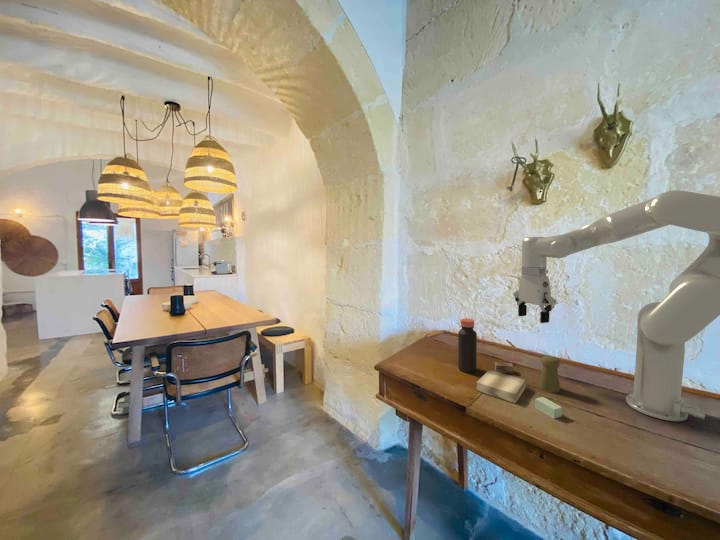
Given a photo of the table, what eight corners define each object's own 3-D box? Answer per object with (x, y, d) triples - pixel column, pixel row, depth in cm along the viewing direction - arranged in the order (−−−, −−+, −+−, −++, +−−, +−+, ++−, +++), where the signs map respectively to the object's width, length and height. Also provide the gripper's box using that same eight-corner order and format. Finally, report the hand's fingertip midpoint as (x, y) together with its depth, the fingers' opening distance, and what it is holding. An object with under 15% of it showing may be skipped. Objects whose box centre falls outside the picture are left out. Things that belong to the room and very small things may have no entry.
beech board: (525, 388, 98) (525, 379, 97) (515, 403, 89) (515, 394, 89) (489, 377, 106) (489, 369, 106) (476, 390, 97) (476, 382, 97)
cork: (559, 394, 93) (561, 362, 92) (538, 389, 97) (538, 358, 95) (560, 386, 98) (561, 356, 97) (539, 382, 101) (540, 352, 100)
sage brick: (561, 417, 82) (561, 407, 82) (553, 419, 81) (554, 409, 81) (542, 405, 88) (542, 396, 87) (535, 408, 87) (535, 398, 86)
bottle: (473, 365, 116) (473, 317, 114) (478, 373, 109) (479, 322, 107) (456, 365, 117) (456, 317, 115) (460, 373, 110) (460, 322, 108)
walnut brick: (511, 370, 111) (511, 363, 111) (513, 374, 108) (513, 366, 108) (494, 369, 113) (494, 362, 113) (495, 372, 110) (496, 365, 110)
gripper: (565, 273, 94) (563, 324, 95) (523, 269, 110) (522, 312, 112) (546, 274, 92) (545, 326, 93) (506, 270, 108) (506, 314, 110)
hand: (533, 319), depth 103 cm, fingers open, 9 cm apart
